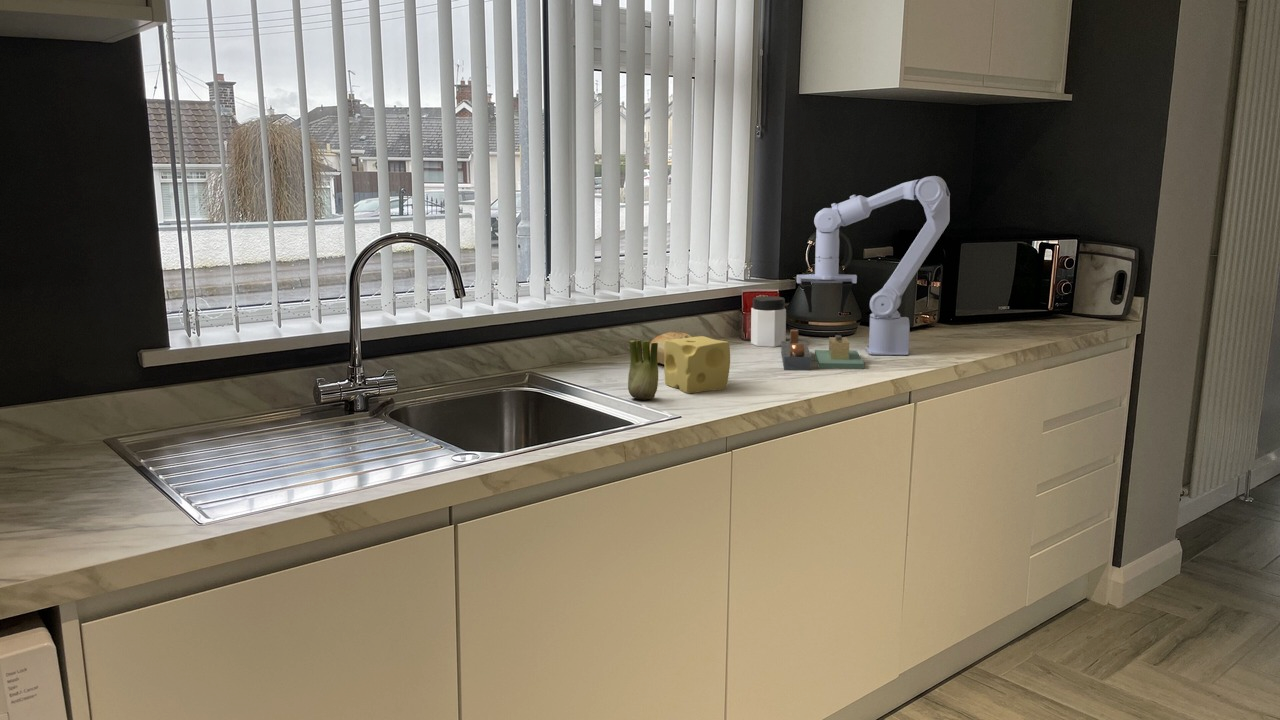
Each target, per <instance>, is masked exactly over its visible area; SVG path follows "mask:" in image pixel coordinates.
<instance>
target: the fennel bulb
mask: <svg viewBox="0 0 1280 720" xmlns="http://www.w3.org/2000/svg"><path fill="white" fill-rule="evenodd" d="M650 342H651V341H649V340H643V341H642V340H640V339H637V340H630V341H629V342H628V343H629V353H630V354H629V355H630V363H629V371H628V377H627V378H628V379H627V380H628V381H627V388H628V389H627V391H628V393H629V394H630V396H631V397H632V398H634V399H636V400H642V401H643V400H646V401H647V400H651V399H654V398H655V396H656V393H657V391H658V385H659V367H658V366H659V365H658V364H659V363H658V362H657V348H658V343H655V342H652V343H651V352H650Z"/></svg>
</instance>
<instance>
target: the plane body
mask: <svg viewBox="0 0 1280 720" xmlns="http://www.w3.org/2000/svg"><path fill="white" fill-rule="evenodd" d="M789 332H790V334H789V336H790V337H789V340H785V341H781V346H780V348H781V349H780V353H781V360H782V365H783V370H785V371H811V370H812V355H811V352H810V348H809V346H808V343H807V341H805V340H804V341H803V340H802V341H800V340H799V329H790V331H789Z"/></svg>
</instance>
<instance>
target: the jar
mask: <svg viewBox="0 0 1280 720" xmlns="http://www.w3.org/2000/svg"><path fill="white" fill-rule="evenodd" d="M785 300H786V299H785V297H782V296H774V295H773V296H769V295H767V296H763V295H762V296H756V297H753V298H752V307H751V308H750V310H751V311H750V312H751V315H750V324H751V325H750V344H751V345H754V346H755V347H759V348H760V347H762V348H777V347H781V341H787V340H786V329H787V326H786V325H787V309H786V308H785V305H786V301H785Z"/></svg>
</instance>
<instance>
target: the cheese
mask: <svg viewBox="0 0 1280 720" xmlns="http://www.w3.org/2000/svg"><path fill="white" fill-rule="evenodd" d="M664 357H665V360H664V364H663V365H664V369H663V370H664V383H665V385H666V386H668V387H671V388H675V389H679V391H680V392H683V393H685V394H687V395H688V394H689V393H690V394H695V393H701V392H707V391H708V392H709V391H717V390H718V391H719V390H725V389H727V388H728V387H727V386H728V381H729V375H730V369H731V368H730V367H731V349H730V342H729V341H727V340H726V341H725V340H722V339H721V340H719V339H715V338H711V337H707V336H702V335H699V336H692V337H690V338H682V339H670V340H665V346H664Z"/></svg>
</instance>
